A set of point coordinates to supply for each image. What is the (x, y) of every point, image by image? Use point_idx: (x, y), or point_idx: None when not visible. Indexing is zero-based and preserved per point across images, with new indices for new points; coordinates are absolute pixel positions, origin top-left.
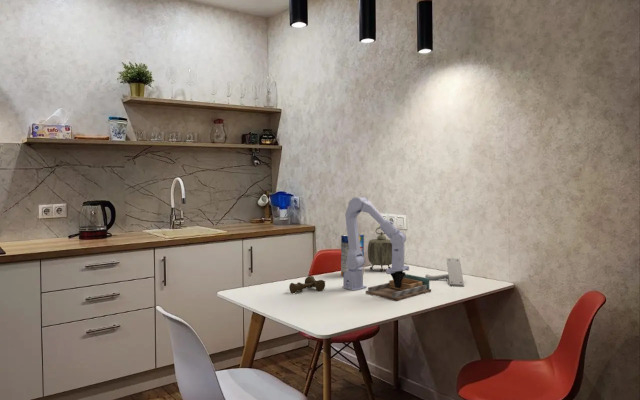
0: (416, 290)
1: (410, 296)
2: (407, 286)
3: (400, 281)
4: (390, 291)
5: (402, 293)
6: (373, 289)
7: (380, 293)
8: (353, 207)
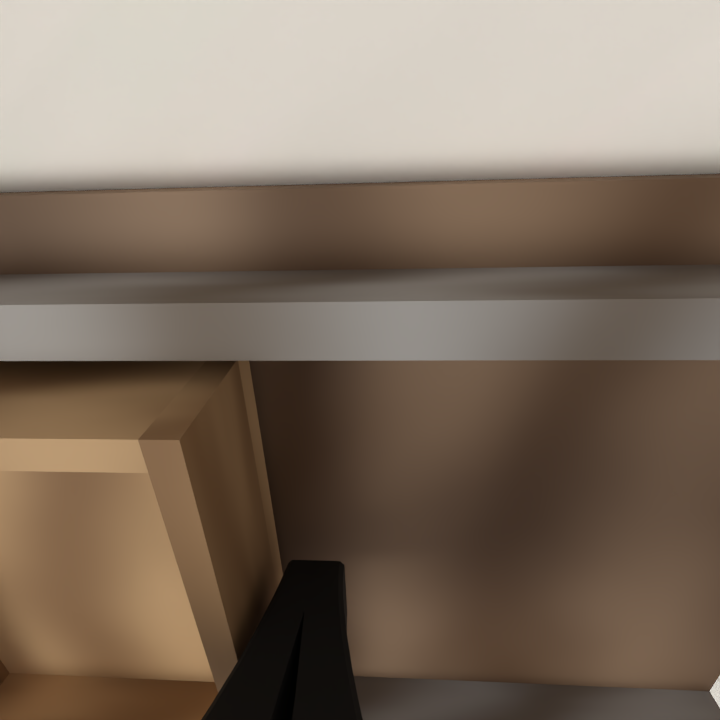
0: (67, 283)
1: (415, 183)
2: (221, 466)
3: (279, 700)
4: (469, 569)
5: (651, 281)
6: (640, 718)
7: (701, 590)
8: None
